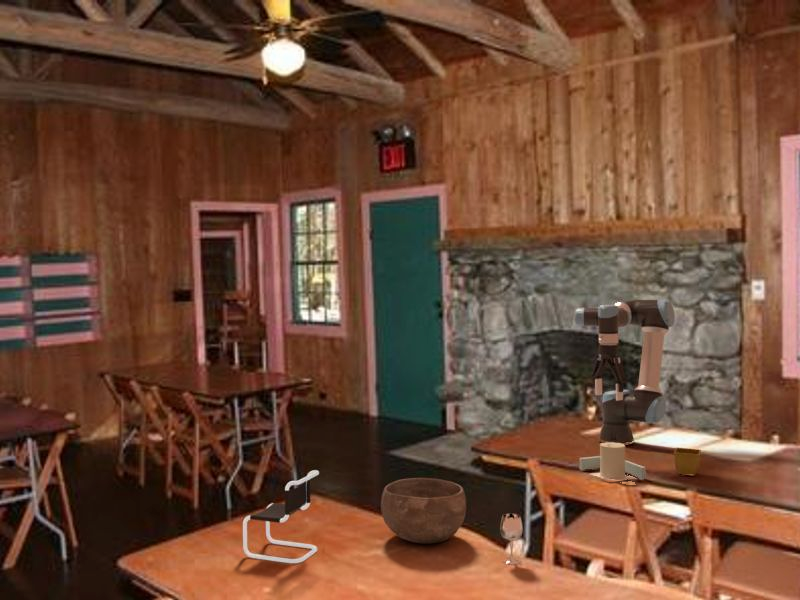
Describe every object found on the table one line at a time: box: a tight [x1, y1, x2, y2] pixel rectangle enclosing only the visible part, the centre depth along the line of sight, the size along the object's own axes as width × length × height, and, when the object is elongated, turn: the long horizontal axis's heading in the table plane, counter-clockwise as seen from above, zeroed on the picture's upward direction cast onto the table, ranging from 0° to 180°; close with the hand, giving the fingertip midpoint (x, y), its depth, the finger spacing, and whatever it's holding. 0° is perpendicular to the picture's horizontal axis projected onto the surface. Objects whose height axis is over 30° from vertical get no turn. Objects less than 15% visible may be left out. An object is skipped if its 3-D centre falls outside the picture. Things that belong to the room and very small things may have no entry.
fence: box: [578, 455, 647, 481], centre depth 297 cm, size 14×22×4 cm, turn 20°
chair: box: [242, 469, 320, 564], centre depth 216 cm, size 13×17×22 cm
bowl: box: [380, 477, 467, 544], centre depth 227 cm, size 24×24×15 cm
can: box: [599, 442, 626, 479], centre depth 293 cm, size 9×9×12 cm
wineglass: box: [499, 513, 523, 565], centre depth 208 cm, size 6×6×12 cm
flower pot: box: [673, 447, 702, 475], centre depth 296 cm, size 9×9×9 cm
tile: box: [588, 472, 637, 480], centre depth 293 cm, size 12×12×1 cm
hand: (608, 397), depth 314 cm, fingers open, 13 cm apart
